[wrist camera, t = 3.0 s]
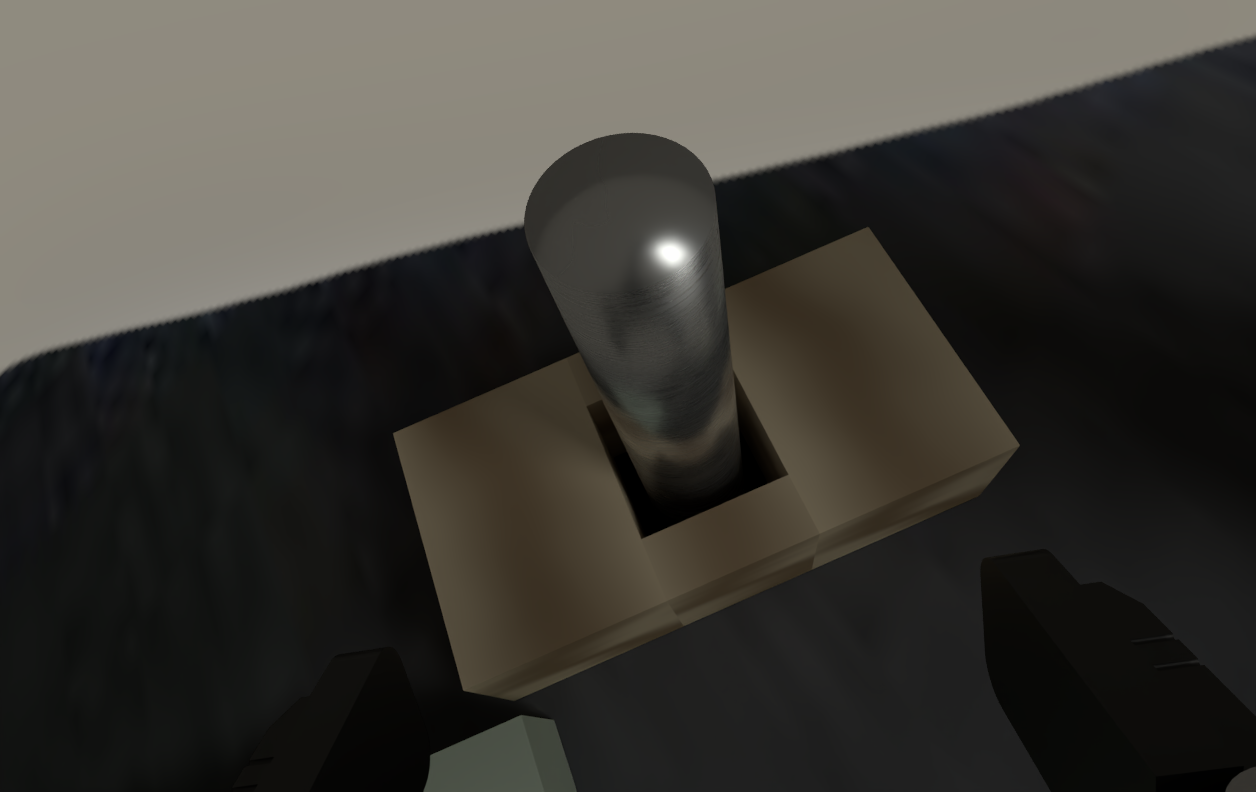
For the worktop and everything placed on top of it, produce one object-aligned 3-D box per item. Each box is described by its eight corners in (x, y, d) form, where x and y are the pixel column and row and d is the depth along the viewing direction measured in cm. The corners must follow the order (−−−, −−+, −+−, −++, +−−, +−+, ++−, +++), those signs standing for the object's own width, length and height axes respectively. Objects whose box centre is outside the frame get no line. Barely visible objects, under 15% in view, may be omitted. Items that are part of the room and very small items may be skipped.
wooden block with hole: (854, 302, 28) (868, 226, 24) (978, 495, 25) (1020, 445, 21) (447, 479, 28) (392, 433, 24) (514, 700, 24) (463, 690, 20)
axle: (720, 428, 27) (669, 106, 14) (760, 510, 26) (749, 241, 12) (635, 465, 27) (500, 179, 13) (671, 549, 25) (560, 323, 12)
